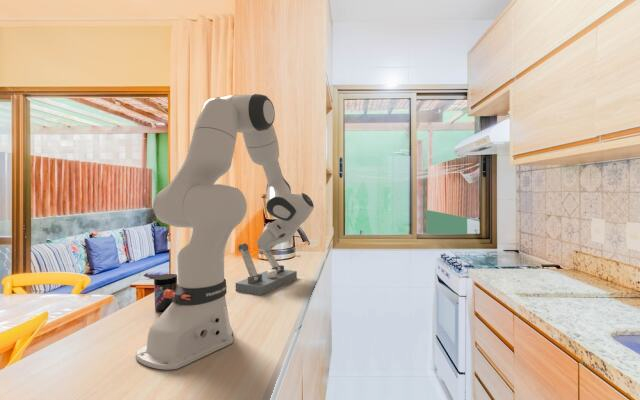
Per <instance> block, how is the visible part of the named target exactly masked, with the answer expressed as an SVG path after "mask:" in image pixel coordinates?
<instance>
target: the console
mask: <svg viewBox="0 0 640 400" xmlns="http://www.w3.org/2000/svg"><path fill="white" fill-rule="evenodd" d="M279 266H281V267H282V271H280V272H278V268H273V267H271V268H270V269H269V270H272V269H274V270H277V278H268V270H266V271H265V270H264V271H262V272H260V273H257V274H258V275H259V277H260V280H258V281H256V282H254V277H250V276H247V278H244V279H243V280H239V281H238V282H235V292H239V293H245V294H252V295H256V296H257V295H258V296H264V295H265V294H267V293H269V292H272V291H274V290H275V289H277V288H279V287H282V286H283V285H287V284H288V283H291V282H292V281H294V280H296V279H297V277H298V275H297V274H298V273H297V272H298V271H297V270H291V269H290V270H289V269H285V265H282V264H279Z"/></svg>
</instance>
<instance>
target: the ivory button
mask: <svg viewBox="0 0 640 400" xmlns="http://www.w3.org/2000/svg"><path fill="white" fill-rule="evenodd" d="M271 269H272V268H271ZM267 271H268V278H277V270H274V269H272V270H270V269H268V270H267Z"/></svg>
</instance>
